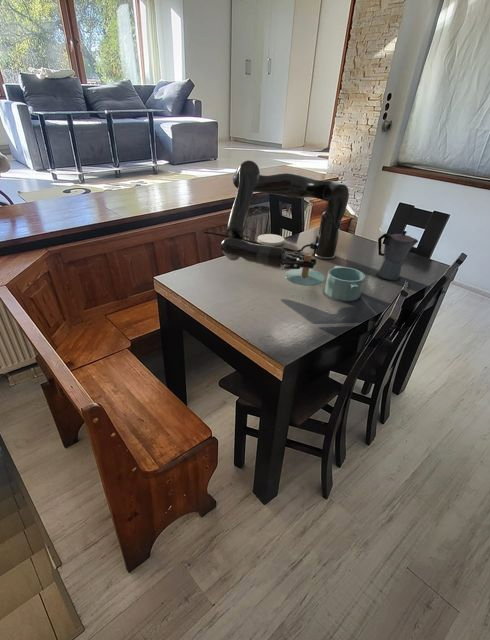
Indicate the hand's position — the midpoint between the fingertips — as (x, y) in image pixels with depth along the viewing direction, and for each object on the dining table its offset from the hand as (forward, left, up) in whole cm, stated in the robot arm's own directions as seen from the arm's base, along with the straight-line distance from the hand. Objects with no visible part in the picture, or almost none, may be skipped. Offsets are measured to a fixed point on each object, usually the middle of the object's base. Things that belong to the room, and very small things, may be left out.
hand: (314, 264), depth 133 cm
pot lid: (-3, -1, -6) cm, 7 cm away
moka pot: (+13, +42, -14) cm, 45 cm away
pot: (+8, +12, -13) cm, 19 cm away
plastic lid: (-49, +37, -14) cm, 63 cm away
